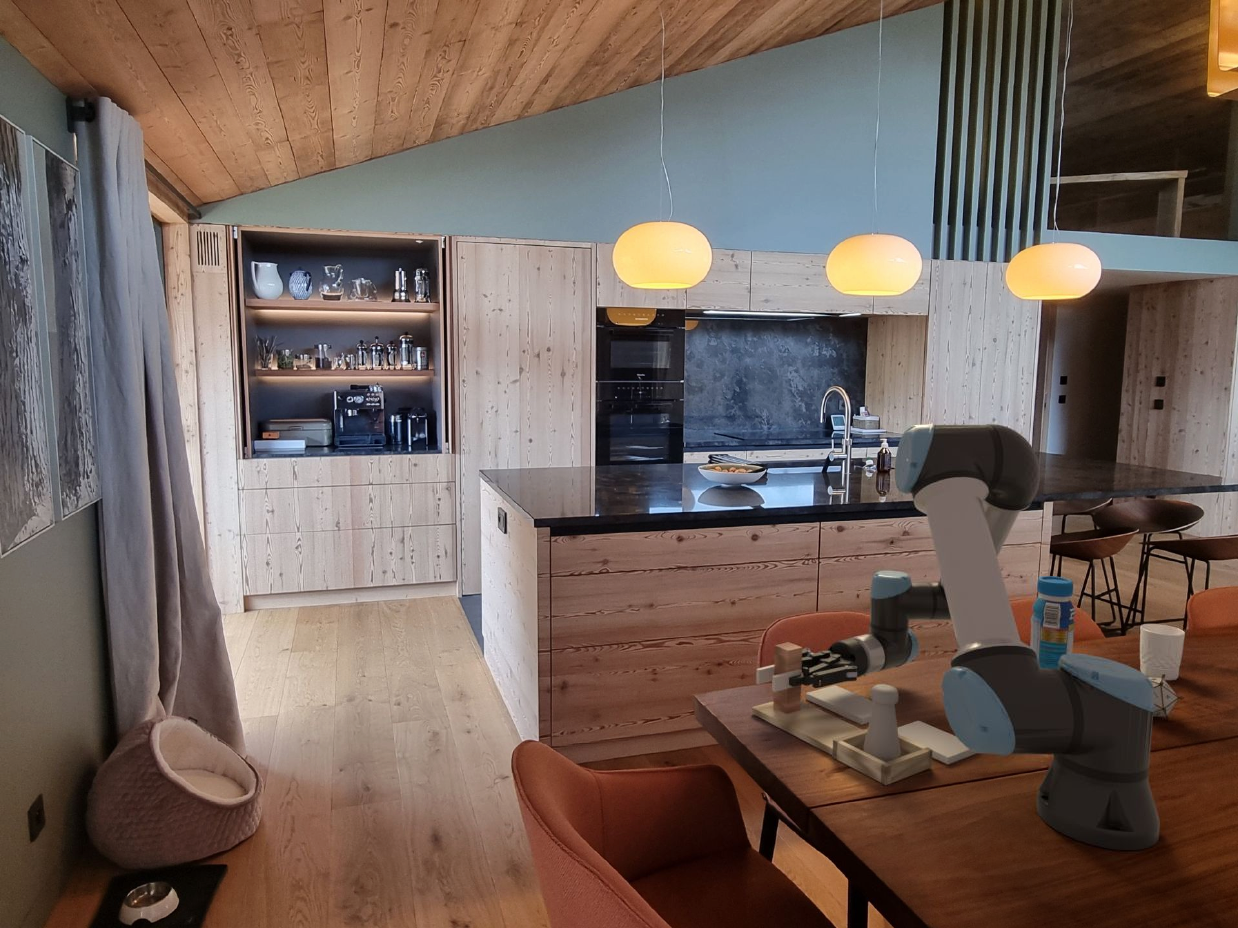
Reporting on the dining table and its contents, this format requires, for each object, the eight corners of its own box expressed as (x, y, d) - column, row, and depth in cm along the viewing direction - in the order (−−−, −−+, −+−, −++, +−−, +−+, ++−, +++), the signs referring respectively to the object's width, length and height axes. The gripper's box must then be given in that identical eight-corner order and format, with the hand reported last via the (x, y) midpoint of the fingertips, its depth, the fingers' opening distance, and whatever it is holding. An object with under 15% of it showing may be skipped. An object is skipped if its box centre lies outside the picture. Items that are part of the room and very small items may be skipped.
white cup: (1128, 671, 177) (1132, 626, 176) (1151, 666, 180) (1155, 622, 179) (1166, 683, 170) (1169, 637, 169) (1189, 678, 173) (1193, 632, 172)
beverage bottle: (1019, 665, 180) (1024, 576, 178) (1049, 661, 183) (1055, 573, 181) (1049, 678, 172) (1055, 585, 170) (1081, 674, 175) (1087, 582, 173)
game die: (1159, 740, 152) (1180, 712, 145) (1110, 713, 156) (1129, 685, 149) (1174, 706, 156) (1196, 678, 150) (1127, 681, 161) (1145, 652, 154)
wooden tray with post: (931, 767, 132) (935, 688, 131) (885, 785, 127) (889, 702, 125) (792, 701, 159) (794, 635, 158) (749, 713, 153) (751, 645, 152)
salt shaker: (859, 766, 133) (862, 689, 132) (866, 752, 138) (869, 677, 137) (897, 774, 130) (900, 696, 129) (902, 759, 135) (905, 683, 134)
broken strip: (978, 752, 138) (978, 745, 138) (948, 764, 134) (948, 757, 134) (834, 690, 165) (834, 684, 165) (805, 698, 161) (806, 693, 161)
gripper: (888, 689, 155) (797, 716, 142) (822, 663, 169) (735, 685, 156) (889, 650, 154) (799, 674, 142) (824, 627, 168) (736, 647, 156)
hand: (765, 680), depth 149 cm, fingers closed on wooden tray with post, 3 cm apart
